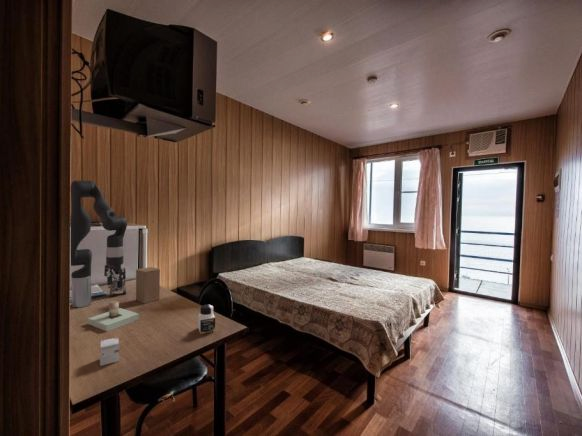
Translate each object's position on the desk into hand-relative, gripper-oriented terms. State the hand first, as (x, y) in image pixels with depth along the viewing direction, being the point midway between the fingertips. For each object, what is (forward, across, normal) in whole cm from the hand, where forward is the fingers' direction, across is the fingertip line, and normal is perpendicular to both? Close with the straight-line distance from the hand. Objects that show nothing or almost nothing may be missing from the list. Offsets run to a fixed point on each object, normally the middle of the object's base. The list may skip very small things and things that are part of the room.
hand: (114, 286), depth 138 cm
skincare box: (+18, +34, -22) cm, 44 cm away
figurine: (+19, -40, +25) cm, 51 cm away
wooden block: (+19, -13, +28) cm, 36 cm away
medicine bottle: (+18, +48, +16) cm, 54 cm away
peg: (+18, +1, -1) cm, 18 cm away
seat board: (+18, +1, -1) cm, 18 cm away
